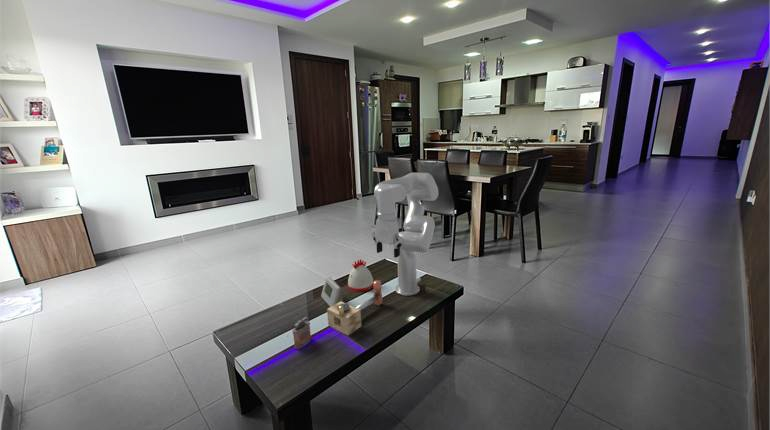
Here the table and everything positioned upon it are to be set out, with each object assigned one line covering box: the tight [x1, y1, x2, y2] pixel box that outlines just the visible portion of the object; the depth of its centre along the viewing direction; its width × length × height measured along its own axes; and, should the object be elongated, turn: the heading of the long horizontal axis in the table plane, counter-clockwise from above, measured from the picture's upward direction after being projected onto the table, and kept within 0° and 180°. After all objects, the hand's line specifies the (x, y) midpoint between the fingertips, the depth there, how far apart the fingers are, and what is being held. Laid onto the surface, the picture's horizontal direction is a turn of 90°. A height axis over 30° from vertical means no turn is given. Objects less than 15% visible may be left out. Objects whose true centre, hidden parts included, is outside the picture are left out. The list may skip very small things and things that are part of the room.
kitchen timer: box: [347, 259, 374, 292], centre depth 172 cm, size 14×14×15 cm
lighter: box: [292, 316, 313, 350], centre depth 126 cm, size 8×3×10 cm, turn 148°
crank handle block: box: [337, 303, 350, 317], centre depth 132 cm, size 5×10×5 cm, turn 1°
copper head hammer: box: [355, 279, 383, 311], centre depth 146 cm, size 19×4×12 cm, turn 141°
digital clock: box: [320, 276, 344, 308], centre depth 156 cm, size 16×9×11 cm, turn 19°
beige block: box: [326, 301, 362, 336], centre depth 136 cm, size 8×12×8 cm, turn 51°
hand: (388, 254), depth 140 cm, fingers open, 9 cm apart
